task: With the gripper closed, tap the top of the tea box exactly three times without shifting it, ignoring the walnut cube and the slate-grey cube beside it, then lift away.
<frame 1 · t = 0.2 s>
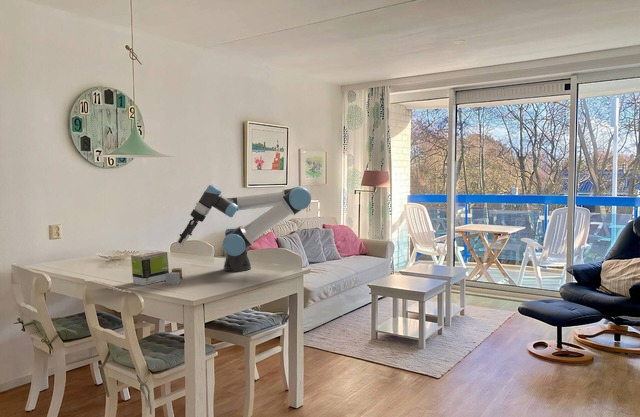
hand: (178, 246, 257), 16 cm above the table, tool tilted 35°, fingers open, 13 cm apart
slate-grey cube: (172, 283, 244), on the table
walnut cube: (177, 278, 255), on the table
tea box: (151, 282, 248), on the table
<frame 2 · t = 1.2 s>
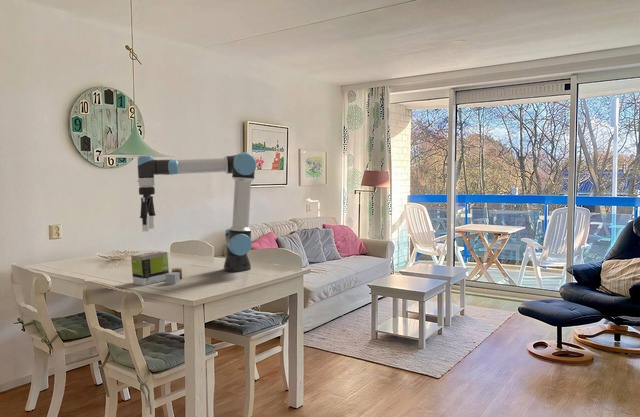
hand: (148, 229, 247), 27 cm above the table, tool pointing down, fingers open, 11 cm apart
nothing on the table moved.
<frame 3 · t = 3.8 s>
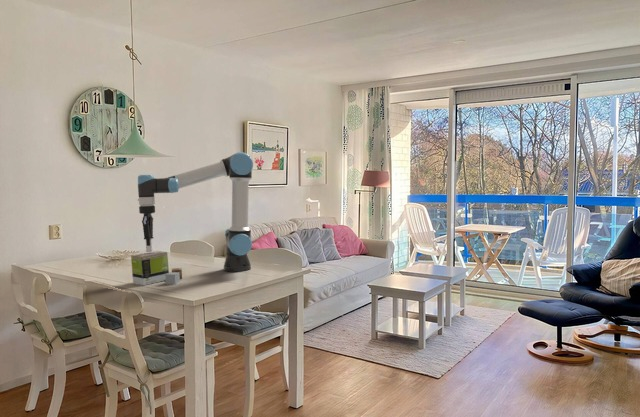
hand: (149, 251, 247), 15 cm above the table, tool pointing down, fingers closed
nothing on the table moved.
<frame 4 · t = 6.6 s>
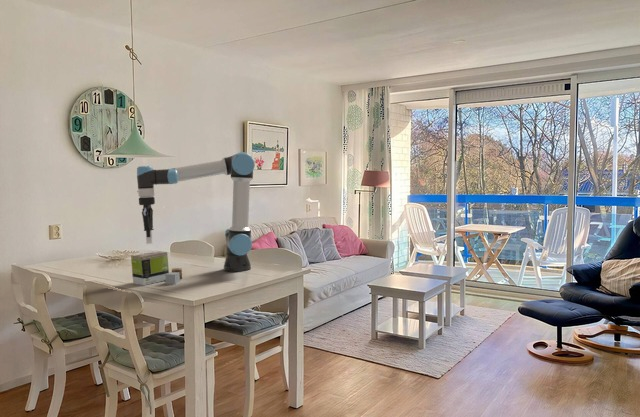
hand: (149, 243, 247), 20 cm above the table, tool pointing down, fingers closed
nothing on the table moved.
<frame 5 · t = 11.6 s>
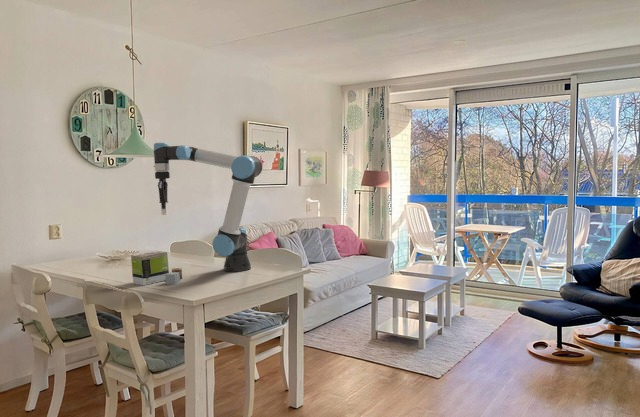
hand: (164, 214, 266), 32 cm above the table, tool pointing down, fingers closed
nothing on the table moved.
at the end: tea box moved 0.3 cm from its start; tea box tilted 0°; the gripper is holding nothing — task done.
